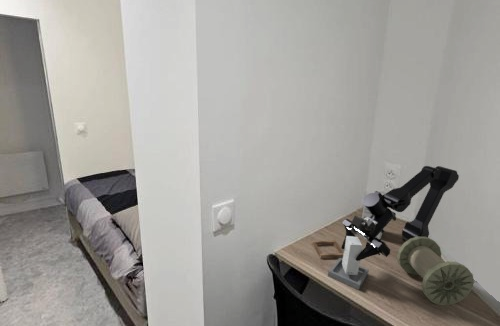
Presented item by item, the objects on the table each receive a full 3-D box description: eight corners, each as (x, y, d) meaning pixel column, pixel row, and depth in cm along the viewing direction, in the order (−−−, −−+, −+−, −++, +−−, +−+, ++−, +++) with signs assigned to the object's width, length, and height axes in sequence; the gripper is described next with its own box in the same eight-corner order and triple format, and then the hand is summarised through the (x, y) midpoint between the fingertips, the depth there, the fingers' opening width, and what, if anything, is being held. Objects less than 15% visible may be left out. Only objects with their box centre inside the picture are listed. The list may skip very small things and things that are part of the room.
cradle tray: (368, 274, 101) (369, 269, 101) (358, 290, 93) (359, 285, 92) (339, 262, 108) (339, 257, 107) (327, 275, 99) (328, 271, 99)
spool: (466, 306, 88) (479, 265, 84) (420, 304, 88) (430, 263, 84) (433, 272, 104) (442, 237, 100) (394, 271, 104) (401, 235, 100)
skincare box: (357, 275, 97) (363, 245, 93) (345, 274, 97) (350, 244, 94) (353, 264, 102) (357, 236, 99) (341, 263, 103) (345, 235, 100)
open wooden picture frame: (334, 243, 121) (335, 240, 120) (345, 257, 111) (346, 254, 110) (311, 244, 119) (312, 241, 119) (320, 258, 109) (320, 255, 109)
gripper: (349, 198, 103) (321, 229, 102) (389, 221, 87) (357, 258, 86) (362, 215, 108) (336, 244, 107) (403, 239, 92) (372, 274, 90)
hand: (349, 254), depth 97 cm, fingers closed on skincare box, 7 cm apart
